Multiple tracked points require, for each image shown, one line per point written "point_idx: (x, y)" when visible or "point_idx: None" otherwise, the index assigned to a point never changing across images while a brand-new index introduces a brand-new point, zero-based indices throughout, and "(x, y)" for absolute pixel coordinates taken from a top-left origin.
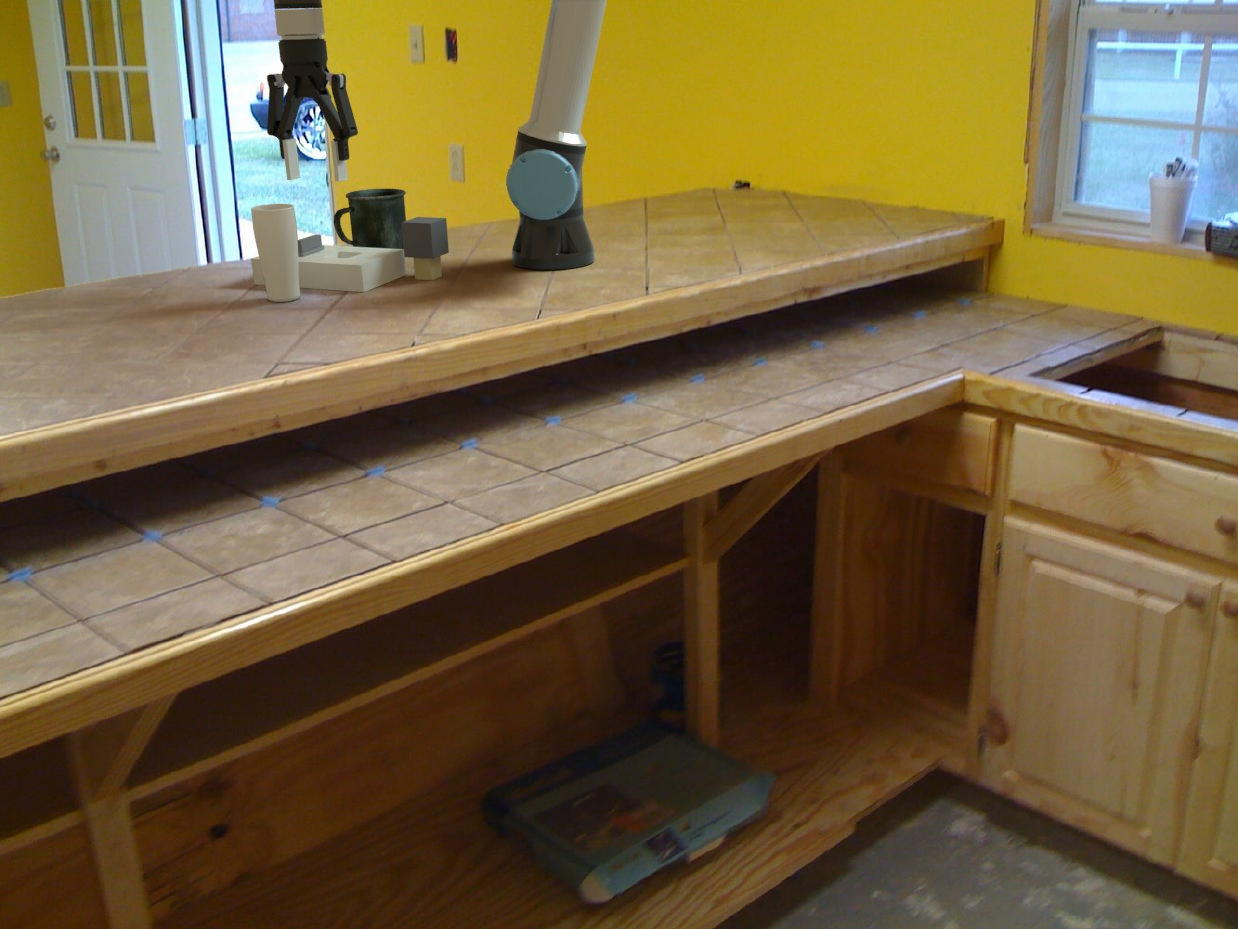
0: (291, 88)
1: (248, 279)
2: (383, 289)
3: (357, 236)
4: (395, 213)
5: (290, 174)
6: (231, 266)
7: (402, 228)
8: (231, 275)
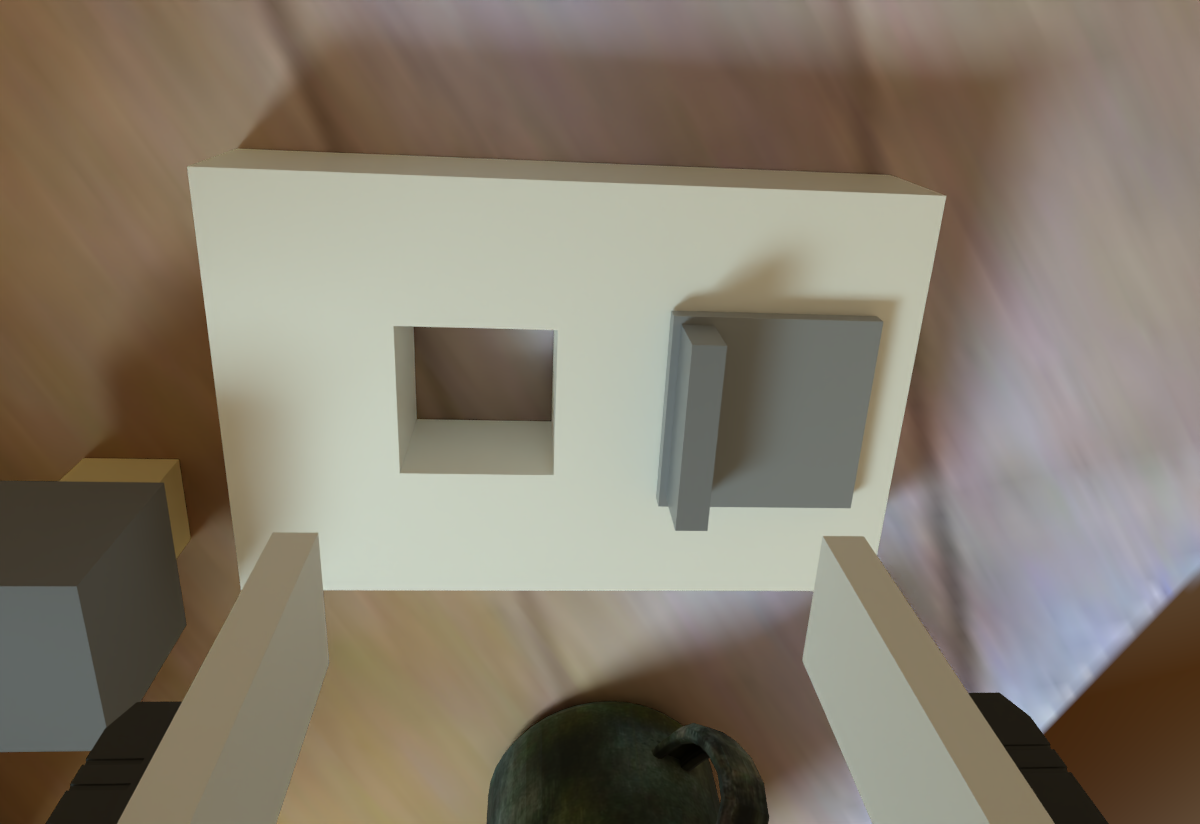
0: None
1: (973, 272)
2: (183, 231)
3: (659, 777)
4: None
5: (838, 566)
6: (1171, 487)
7: (90, 563)
8: (1094, 328)
